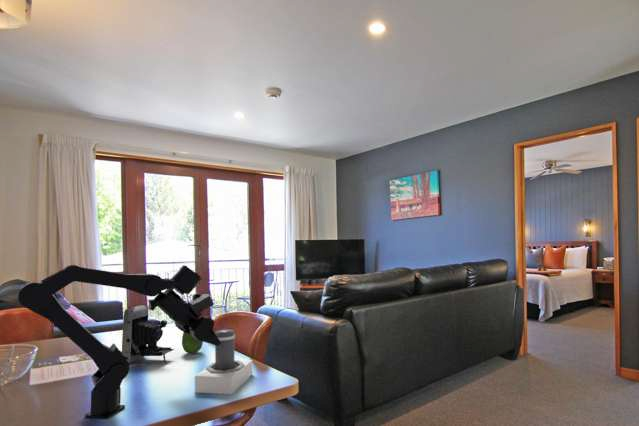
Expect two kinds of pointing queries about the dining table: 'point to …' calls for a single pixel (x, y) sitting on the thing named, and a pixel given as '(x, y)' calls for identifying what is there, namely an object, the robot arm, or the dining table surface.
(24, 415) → the dining table surface
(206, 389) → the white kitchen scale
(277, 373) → the dining table surface
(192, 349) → the avocado
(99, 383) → the robot arm
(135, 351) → the vintage camera
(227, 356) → the lens
